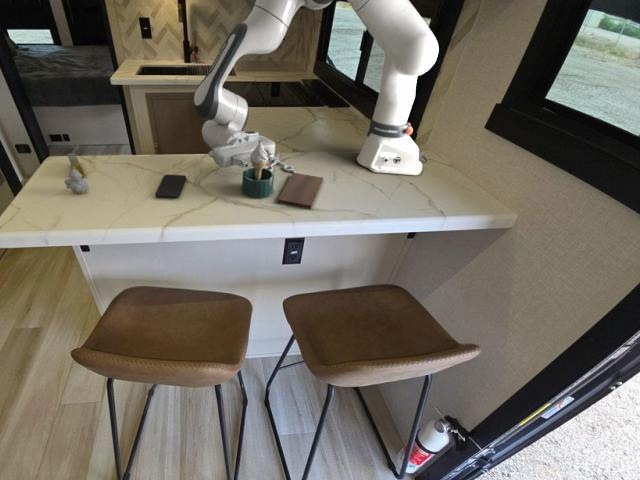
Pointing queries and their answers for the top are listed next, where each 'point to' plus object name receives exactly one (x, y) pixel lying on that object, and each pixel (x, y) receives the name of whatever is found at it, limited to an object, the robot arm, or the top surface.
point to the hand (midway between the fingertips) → (259, 161)
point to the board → (300, 190)
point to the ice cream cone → (259, 160)
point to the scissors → (280, 163)
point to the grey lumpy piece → (76, 182)
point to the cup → (257, 183)
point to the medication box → (75, 163)
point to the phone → (170, 186)
